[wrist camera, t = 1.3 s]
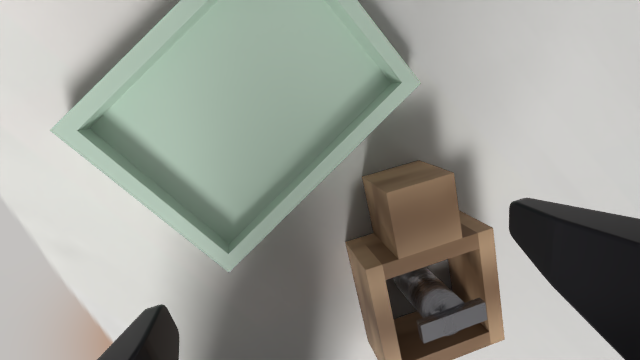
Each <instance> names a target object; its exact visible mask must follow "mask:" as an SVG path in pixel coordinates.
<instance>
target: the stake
mask: <svg viewBox="0 0 640 360" xmlns="http://www.w3.org/2000/svg"><path fill="white" fill-rule="evenodd" d="M394 280H395V284H396V285H397V287H398V288H399V289H400V290H401V292H402V293H403V294H404V295H405V297H406V298H407V299H408V300H409V301H410V303H411V304H412V305H413V306H414V308H415V309H416V310H417V311H418V312H419V314H420V315H421V316H422V317H423V318H421V319H419V320H416V321H417V326H418V332H419V337H420V339H421V340H422V342H423V343H427V342H429V341H432V340H435V339H438V338H440V337H443V336H449V335H453V334H455V333H457V332H458V331H460V330H462V329H464V328H467V327H470V326H472V325H475V324H478V323H480V322H483V321H486V320H487V312H486V304H485V301H483V300H482V299H481V298H480V297H479V298H477V299H474V300H471V301H468V302H466V303H465V302H463V301H462V300H461V299H460V298H459V297H458V296H457V295H456V294H455V293H454V292H453V291H452V290H450V289H449V288H448V287H447V286H446V285H445V284H444V283H443V282H442V281H441V280H440V279H438V278H437V277H436V276H435V275H434V274H433V273H432V272H431V271H430V270H429V269H428V268H427V267H423V268H420V269H417V270H414V271H411V272H408V273H405V274H402V275H399V276H396V277H394Z"/></svg>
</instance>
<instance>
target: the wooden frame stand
mask: <svg viewBox="0 0 640 360" xmlns="http://www.w3.org/2000/svg"><path fill="white" fill-rule="evenodd" d="M362 180H363V184H364V189H365V194H366V199H367V204H368V209H369V214H370V219H371V223H372V228H373V233H372V234H369V235H366V236H363V237H360V238H356V239H353V240H350V241H347V242H345V243H346V247H347V252H348V256H349V260H350V265H351V269H352V273H353V278H354V282H355V286H356V291H357V295H358V299H359V304H360V308H361V312H362V316H363V321H364V325H365V329H366V334H367V338H368V342H369V344H370V345H371V347H372V349H373V351H374V353H375V355H376V357H377V359H378V360H453V359H455V358H458V357H460V356H463V355H466V354H468V353H471V352H473V351H476V350H479V349H481V348H484V347H486V346H489V345H492V344H494V343H497V342H499V341H502V340H504V329H503V320H502V310H501V301H500V291H499V281H498V272H497V262H496V252H495V243H494V233H493V228H492V227H490V226H488V225H486V224H484V223H482V222H480V221H479V220H477V219H475V218H473V217H471V216H469V215H467V214H465V213H463V212H461V211H459V208H458V200H457V192H456V185H455V177H454V173H453V172H450V171H447V170H445V169H442V168H439V167H436V166H434V165H431V164H428V163H425V162H422V161H420V160H418V161H415V162H411V163H408V164H405V165H401V166H398V167H394V168H391V169H387V170H384V171H380V172H377V173H373V174H370V175H366V176H363V177H362ZM446 259H448V263H449V270H450V277H451V284H452V290H453V292H454V293H455V294H456V295H457V296H458V297H459V298H460V299H461V300H462V301H463V302H465V303H466V302H468V301H471V300H474V299H477V298H479V297H480V298H481V299H482V300H483V301H485V304H486V312H487V320H486V321H483V322H480V323H478V324H475V325H472V326H470V327H467V328H464V329H462V330H460V331H458V332H457V333H455V334H453V335H449V336H443V337H440V338H438V339H435V340H432V341H429V342H427V343H423V342H422V340H421V339H420V337H419V332H418V326H417V321H416V320H419V319H421V318H423V317H422V316H421V315H420V314H419V312H418V311H416V312H413V313H410V314H407V315H405V316H402V317H399V318H396V319H393V315H392V310H391V305H390V300H389V295H388V290H387V285H386V280H387V279H390V278H393V277H396V276H399V275H402V274H405V273H408V272H411V271H414V270H417V269H420V268H423V267H426V266H429V265H432V264H435V263H438V262H441V261H443V260H446Z"/></svg>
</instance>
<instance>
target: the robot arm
mask: <svg viewBox="0 0 640 360" xmlns="http://www.w3.org/2000/svg"><path fill="white" fill-rule="evenodd" d="M509 231H510V234H511V236H512V237H513V239H514V240H515V241H516V243H517V244H518V245H519V246H520V247H521V249H522V250H523V251H524V252H525V254H526V255H527V256H528V257H529V259H530V260H531V261H532V262H533V264H534V265H535V266H536V267H537V268H538V270H539V271H540V272H541V273H542V275H543V276H544V277H545V278H546V279H547V281H548V282H549V283H550V284H551V285H552V286H553V287H554V288H555V289H556V290H557V291H558V292H559V293H560V294H561V295H562V296H563V297H564V298H565V299H566V300H567V302H568V303H569V304H570V305H571V306H572V307H573V308H574V309H575V310H576V311H577V312H578V313H579V314H580V315H581V316H582V317H583V318H584V319H585V320H586V321H587V322H588V323H589V324H590V325H591V326H592V327H593V328H594V329H595V330H596V331H597V332H598V333H599V334H600V335H601V336H602V337H603V338H604V339H605V340H606V341H607V342H608V343H609V344H610V345H611V346H612V347H613V348H614V349H615V350H616V351H617V352H618V353H619V354H620V355H621V356H622V357H623V358H624V359H625V360H640V219H637V218H632V217H627V216H622V215H616V214H611V213H606V212H600V211H595V210H590V209H585V208H579V207H574V206H569V205H563V204H558V203H553V202H547V201H542V200H537V199H532V198H523V199H520V200H516V201H513V202H512V203H511V204H510V207H509ZM97 360H179V332H178V329H177V326H176V324H175V322H174V321H173V319H172V317H171V315H170V313H169V311H168V309H167V307H166V306H165V305H157V306H154V307H151V308H147V309H145V310H144V311H143V312H142V313H141V314H140V315H139V316H138V317H137V319H136V320H135V321H134V322H133V323H132V324H131V325H130V326H129V327H128V328H127V329H126V330H125V331H124V332H123V333H122V334H121V335H120V336H119V337H118V338H117V340H116V341H115V342H114V343H113V344H112V345H111V346H110V347H109V348H108V349H107V350H106V351H105V352H104V353H103V354H102V355H101V357H99V358H98V359H97Z"/></svg>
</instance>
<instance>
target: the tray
mask: <svg viewBox="0 0 640 360" xmlns="http://www.w3.org/2000/svg"><path fill="white" fill-rule="evenodd" d="M420 84H421V83H420V81H419V80H418V79H417V77H416V76H415V75H414V73H413V72H412V71H411V70H410V68H409V67H408V66H407V64H406V63H405V62H404V60H403V59H402V58H401V57H400V55H399V54H398V53H397V51H396V50H395V49H394V47H393V46H392V45H391V43H390V42H389V41H388V40H387V38H386V37H385V36H384V34H383V33H382V32H381V30H380V29H379V28H378V27H377V25H376V24H375V23H374V21H373V20H372V19H371V17H370V16H369V15H368V14H367V12H366V11H365V10H364V8H363V7H362V6H361V4H360V3H359V2H358V1H357V0H180V1H179V2H178V3H177V4H176V5H175V6H174V7H173V8H172V9H171V10H170V11H169V12H168V13H167V14H166V15H165V16H164V17H163V18H162V19H161V20H160V21H159V22H158V23H157V24H156V25H155V26H154V27H153V28H152V29H151V30H150V31H149V32H148V33H147V34H146V35H145V36H144V37H143V38H142V39H141V40H140V41H139V42H138V43H137V44H136V45H135V46H134V47H133V48H132V49H131V50H130V51H129V52H128V53H127V54H126V55H125V56H124V57H123V58H122V59H121V60H120V61H119V62H118V63H117V64H116V65H115V66H114V67H113V68H112V69H111V70H110V71H109V72H108V73H107V74H106V75H105V76H104V77H103V78H102V79H101V80H100V81H99V82H98V83H97V84H96V85H95V86H94V87H93V88H92V89H91V90H90V91H89V92H88V93H87V94H86V95H85V96H84V97H83V98H82V99H81V100H80V101H79V102H78V103H77V104H76V105H75V106H74V107H73V108H72V109H71V110H70V111H69V112H68V113H67V114H66V115H65V116H64V117H63V118H62V119H61V120H60V121H59V122H58V123H57V124H56V125H55V126H54V127H53V128H52V129H51V130H50V131H51V132H52V133H54V134H55V135H56V136H57V137H59V138H60V139H61V140H62V141H64V142H65V143H66V144H67V145H69V146H70V147H71V148H72V149H74V150H75V151H76V152H78V153H79V154H80V155H81V156H83V157H84V158H85V159H86V160H88V161H89V162H90V163H91V164H93V165H94V166H95V167H96V168H98V169H99V170H100V171H101V172H103V173H104V174H105V175H106V176H108V177H109V178H110V179H112V180H113V181H114V182H115V183H117V184H118V185H119V186H120V187H122V188H123V189H124V190H125V191H127V192H128V193H129V194H130V195H132V196H133V197H134V198H135V199H137V200H138V201H139V202H140V203H142V204H143V205H144V206H145V207H147V208H148V209H149V210H151V211H152V212H153V213H154V214H156V215H157V216H158V217H159V218H161V219H162V220H163V221H164V222H166V223H167V224H168V225H169V226H171V227H172V228H173V229H174V230H176V231H177V232H178V233H179V234H181V235H182V236H183V237H185V238H186V239H187V240H188V241H190V242H191V243H192V244H193V245H195V246H196V247H197V248H198V249H200V250H201V251H202V252H203V253H205V254H206V255H207V256H208V257H210V258H211V259H212V260H213V261H215V262H216V263H217V264H218V265H220V266H221V267H222V268H224V269H225V270H226V271H227V272H230V271H231V270H232V269H233V268H234V267H235V266H236V265H237V264H238V263H240V262H241V261H242V260H243V259H244V258H245V257H246V256H247V255H248V254H249V253H250V252H251V251H252V250H253V249H254V248H255V247H256V246H257V245H258V244H259V243H260V242H261V241H262V240H263V239H264V238H265V237H266V236H267V235H268V234H269V233H270V232H271V231H272V230H273V229H274V228H275V227H276V226H277V225H278V224H279V223H280V222H281V221H282V220H283V219H284V218H285V217H286V216H287V215H288V214H289V213H290V212H291V211H292V210H293V209H294V208H295V207H296V206H297V205H298V204H299V203H300V202H301V201H302V200H303V199H304V198H305V197H306V196H307V195H308V194H309V193H310V192H311V191H312V190H313V189H314V188H315V187H316V186H317V185H318V184H319V183H320V182H321V181H322V180H324V179H325V178H326V177H327V176H328V175H329V174H330V173H331V172H332V171H333V170H334V169H335V168H336V167H337V166H338V165H339V164H340V163H341V162H342V161H343V160H344V159H345V158H346V157H347V156H348V155H349V154H350V153H351V152H352V151H353V150H354V149H355V148H356V147H357V146H358V145H359V144H360V143H361V142H362V141H363V140H364V139H365V138H366V137H367V136H368V135H369V134H370V133H371V132H372V131H373V130H374V129H375V128H376V127H377V126H378V125H379V124H380V123H381V122H382V121H383V120H384V119H385V118H386V117H387V116H388V115H389V114H390V113H391V112H392V111H393V110H394V109H395V108H396V107H397V106H398V105H399V104H400V103H401V102H402V101H403V100H404V99H405V98H407V97H408V96H409V95H410V94H411V93H412V92H413V91H414V90H415V89H416V88H417V87H418V86H419V85H420Z"/></svg>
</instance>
